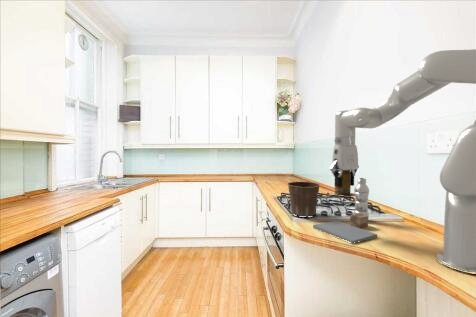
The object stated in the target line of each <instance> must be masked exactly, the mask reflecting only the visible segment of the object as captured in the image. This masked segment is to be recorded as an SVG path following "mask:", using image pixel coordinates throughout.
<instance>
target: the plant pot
mask: <svg viewBox="0 0 476 317" xmlns="http://www.w3.org/2000/svg"><path fill="white" fill-rule="evenodd" d="M286 185H287V186H288V192H289V203H290V214H291V213H292V214H295V215H298V216H306V217H308V216H313V215H314V214H315V213H317V204H318V194H319V193H320V191H319V190H320V187H321V184H320V183H318V182H313V181H292V182H290V181H289V182H287V184H286ZM292 214H291V215H292ZM298 216H297V217H298Z"/></svg>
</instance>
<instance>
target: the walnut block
mask: <svg viewBox="0 0 476 317" xmlns="http://www.w3.org/2000/svg"><path fill="white" fill-rule="evenodd" d="M349 225H351V226H354V227H357V228H360V229H366V228H369V218H368V216H366V215H362V214H359V213H357V214H354V213H352V214H349Z"/></svg>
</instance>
